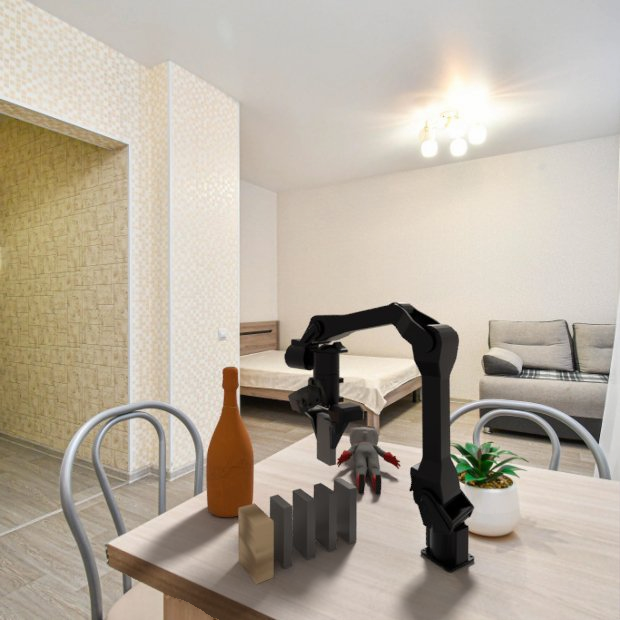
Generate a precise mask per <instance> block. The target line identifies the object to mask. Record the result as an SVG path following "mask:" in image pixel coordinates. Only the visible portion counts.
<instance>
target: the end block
mask: <svg viewBox="0 0 620 620" xmlns="http://www.w3.org/2000/svg"><path fill="white" fill-rule="evenodd" d="M237 518H238V522H237V523H238V524H237V526H238V527H237V528H238V535H237V536H238V546H237V547H238V549H237V550H238V555H237V556H238V562H239V564H240V565H241V566H242V567H243V569H244V570H245V571H246V572H247V574H248V575H249V577H250V578H251V579H252V580H253V582H254V583H255V585H257V584H260V583H264V582H265V581H267V580H271V579H273V578H274V574H275V573H274V566H275V565H274V564H275V563H274V560H275V559H274V521H273V520H272V519H271V518H270V515H268V514H267V513H265V512H264V510H262V508H261V507H259V506H258V505H257V504H256V503H255V502H254V503H252V504H251V505H247V506H243V507H240V508H238V516H237Z"/></svg>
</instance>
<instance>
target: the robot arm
mask: <svg viewBox="0 0 620 620" xmlns="http://www.w3.org/2000/svg"><path fill="white" fill-rule="evenodd" d="M386 326H387V327H388V326H393V327H394V328H395V329H396V330H397V332H398V334H399V335H400V337H402V339H403V340H405V341H406V342H407V343H408V344H409V345H410V346H411V351H412V355H413V356H412V357H413V361H414V364H415V365H416V367H417V370H418V372H419V374H420V378H421V439H422V440H421V442H422V443H421V445H422V447H421V449H422V450H421V452H422V453H421V455H422V456H421V459H420V462H418V463H416V464H414V465H413V466H411V467H410V468H409V469H410V470H409V476H410V487H409V490H408V491H409V492H412V500H413V501H414V504H415V505H417V509H418V512H419V514H420V515H419V516H420V519H421V522H422V525H423V526H424V527H425V546H426V547H424V548H421V549H420V554H421V555H422V556H424V557H426V558H428V559H429V560H430V561H431V562H433V563H435V564H436V565H438V566H439V567H440V568H442V569H444V570H445V571H447V572H451V573H452V572H454V571H456V570H457V569H458V570H459V568H462V567H464V566H466V565H468V564H470V563H471V562H474V561H475V556H474V555H473V554H471V553H469V545H470V544H469V537H470V536H469V534H470V532H469V530H470V528H469V527H470V526H469V525H468V524H466V522H465V521H467V519H468V518H471V517H472V514H473V512H474V509H475V506H474V505H473V503H472V502H471V501H470V499H469V498H468V496H467V495H466V494H465V493H464V491H463V490H462V488H461V483H460V478H459V472H458V469H457V467H456V465H455V464H454V462H453V460H452V455H451V392H450V391H451V389H450V387H451V381H450V377H451V374H452V371H453V368H454V366H455V364H456V361H457V356H458V352H459V351H458V350H459V345H460V338H459V333H458V331H456V330H455V328H453V326H451V325H449V324H445V323H441V322H439V321H438V320H436V319H435V318H433V317H431V316H430V315H427V314H426V313H424V312H422V311H420V310H419V309H417V308H416V307H415V306H414V305H412V304H411V303H410V302H407V301H403V302H401V301H398V302H396V301H394V302H391V303H390V304H387V305H382V306H377V307H372V308H369V309H365V310H360V311H355V312H350V313H345V314H316V315H313V316H311V317H310V320H309V322H308V325H307V327H306V330H305V331H304V332H303V334H302V336H301V338H291V339H290V344H289V346H288V347H287V348H286V350H285V353H284V355H283V356H284V362H285V364H286V366H287V367H288V368H290V369H297V370H303V371H312V376H311V377H308V379H307V385H304V386H302V387H300V388H298V389H297V390H295V391H293V392H291V393H290V394H288V395H287V398H288V400H289V401H288V402H289V403H290V407H291V410H292V411H296V412H298V413H299V414H305V415H307V417H308V418H309V421H310V423H311V426H312V429H313V432H314V435H315V440H316V441H317V413H322V412H323V413H326V414H328V415H329V416H330V417H329V418H324V421H325V422H326V423H327V424H328V425H329V436H330V446H331V449H336V450H337V448H338V445H339V443H340V442H341V439H342V437H343V435H344V433H345V431H346V429H347V427H348V426H349V424H350V423H352V422H357V421H362V420H364V411H365V410H364V408H363V407H362V406H361V405H360V404H356V403H353V402H351V401H350V402H344V399H345V398H344V396H342V395H340V393H341V391H340V389H341V387H340V386H341V385H340V384H343V383H344V382H345V381H344V379H345V378H344V377H341V376H340V370H341V369H340V368H341V367H340V361H341V360H340V357H341V356H340V354H345V353H348V352H349V349H348V348H347V347H346V346H345V345H343V343H342V341H339V340H341V339H344V338H346V337H348V336H350V335H351V334H353V333H355V332H360V331H365V330H371V329H377V328H381V327H386ZM331 343H332V344H331Z"/></svg>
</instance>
